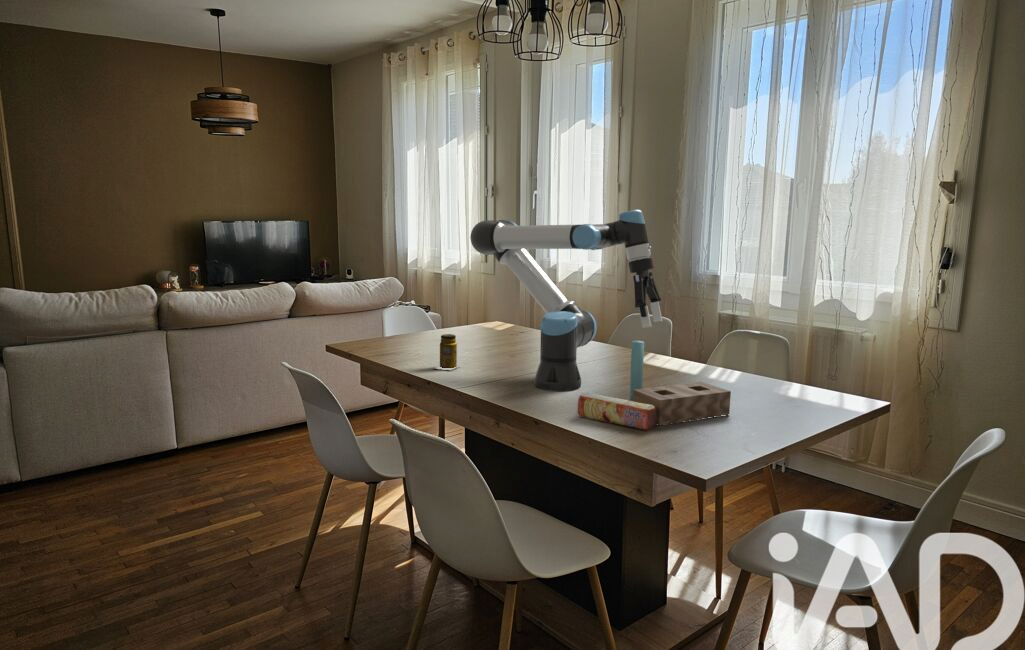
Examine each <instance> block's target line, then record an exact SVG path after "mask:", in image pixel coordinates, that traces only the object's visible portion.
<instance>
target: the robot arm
mask: <svg viewBox="0 0 1025 650" xmlns="http://www.w3.org/2000/svg"><path fill="white" fill-rule="evenodd" d="M618 217H619V218H618V220H616V221H613V222H608V223H604V224H603V223H602V224H601V223H600V224H593V223H585V224H584V223H583V224H550V225H549V224H547V225H546V224H541V225H540V224H536V225H535V224H534V225H533V224H532V225H530V224H529V225H518V224H516V223H515V222H514V221H510V220H506V219H499V220H491V219H490V220H482V221H480V222H478V223H476V224H475V225H474V226H473V228H472V230H471V231H470V237H469V239H470V243H471V245H472V248H474V250H475V251H477V252H478V253H480V254H482V255H493V256H494V258H495V259H496V260H497V262H499V264H500V265H504V266H505V265H506V266H507V267H508V268H509V269H510V271H511V272H512V273H513V274H514V276H515V277H516V278H517V279H518V281H519V282H520V283H521V284H522V285H523V287H524V288H525V289H526V290H527V292H528V294H530V295H531V296H532V298H533V299H534V300H535V301H536V302H537V304H538V305H539V306H540V307H541V309H542V310H543V311H544V312H545V314H544V315H543V316H542V317H541V319H540V326H539V327H540V328H539V329H540V346H539V347H540V357H539V358H540V359H539V360H540V362H539V364H538V367H537V370H536V373H535V376H534V379H533V380H534V382H533V383H534V386H535V387H537V388H539V389H542V390H548V391H560V392H561V391H573V390H577V389H579V388H581V387H582V378H581V375H580V371H579V368H578V364H577V349H578V348H580V347H584V346H586V345H588V343H590V342H591V341H592V340H593V339H594V338H595V336H596V334H597V328H598V327H597V326H598V325H597V321H596V319H595V317H594V316H593V315H592V313H590V312H588V311H587V310H582V308H581V307H580V306H579V305H578V304H577V303H576V302H575V301H572V300H568V299H567V297H566V296H565V295H564V293H563V292H562V291H561V290H560V289H559V288H558V286H557V285H556V284H555V283H554V281H552V279H551V278H550V277H549V276H548V274H547V273H546V271H544V270H543V268H542V267H541V266H540V265H539V263H538V262H537V261H536V260H535V259H534V257H533V256H532V255H531V253H529V251H528V250H541V249H542V250H569V249H570V250H572V249H574V250H585V251H587V250H591V251H597V250H602V249H605V248H606V249H607V248H610V247H614V246H617V245H622V244H624V249H625V252H626V259H627V260H628V261H629V262H628V268H629V272H630V274H634V273H636V274H635V275H633V277H632V278H633V283H634V284H633V285H634V307H635V308H636V309H637V308H638V312H639V318H640V323H641V327H642V329H645V328H652V322H651V317H650V312H649V307H648V305H647V296H648V299H649V301H650V303H649V304H650V310H651V315H652V320H653V323H660V322H663V317H662V312H661V307H660V302H661V301H662V298H661V296H660V294H659V291H658V289H657V285H656V281H655V278H654V276H653V272H652V271H651V272H650V271H649V270H653V269H654V268H655V267H654V262H653V261H654V260H653V258H652V257H650V256H651V255H652V253H651V249H652V246H651V245H650V242H649V237H648V233H647V228H646V227H647V226H646V222H645V221H646V220H645V217H644V213H643V212H642V210H641V209H632V210H628V211H624V212H620V213H619V214H618Z"/></svg>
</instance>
